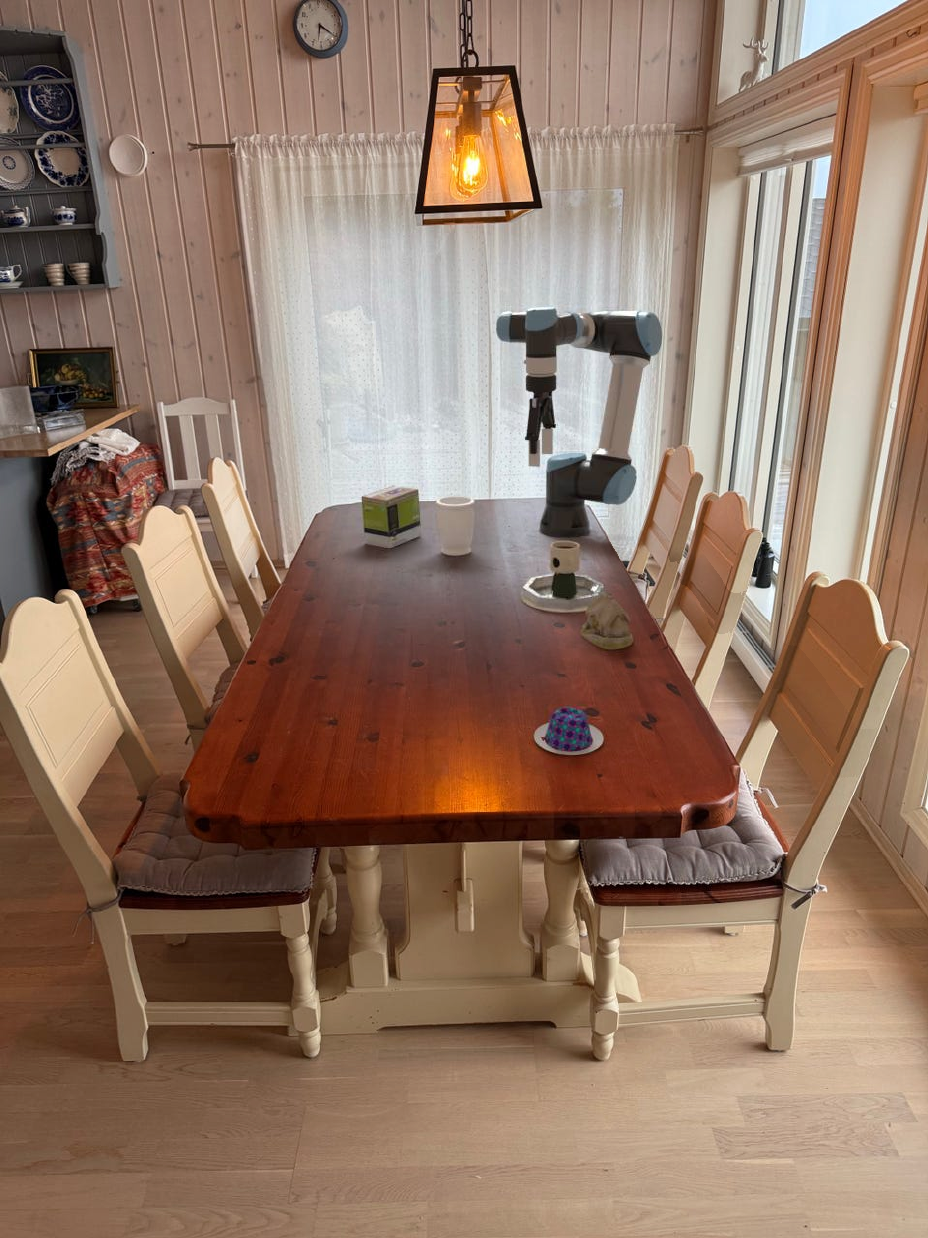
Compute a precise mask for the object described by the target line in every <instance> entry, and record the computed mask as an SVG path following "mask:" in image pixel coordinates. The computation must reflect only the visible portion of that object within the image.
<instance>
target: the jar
mask: <svg viewBox="0 0 928 1238" xmlns="http://www.w3.org/2000/svg"><path fill="white" fill-rule="evenodd" d="M474 505H475V500H474V499H473V498H471V497H465V496H446V497H441V498H438V499H437V500H436V506H437V507H438V508H437V513H436V529H437V531H438V539H439V541H440V544H441V546H442V548H441V553H442V554H443V555H446V556H451V557H453V556H454V557H455V556H456V557H457V556H458V557H459V556H466V555H468V554H470V553H472V549H471V546H470V545H471V544H472V542H473V536H474V530H475V512H474V508H473V506H474Z"/></svg>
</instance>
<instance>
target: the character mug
mask: <svg viewBox="0 0 928 1238" xmlns="http://www.w3.org/2000/svg"><path fill="white" fill-rule="evenodd" d="M549 547H550V551H549V555H550V556H549V557H550V558H549V559H550V563H549V570H550V571H552V572H554V573H553V574H554V577H553V582H552V588H551V593H552V591H553V596H556V597H561V598H563V597H565V598H566V597H569V596H573V595H576V593H577V589H576V579H575V575H576V574H575V573H577V572H578V571H579V570H580V560H581V559H580V558H581V557H580V555H581V552H580V551H581V545H580V543H578V542H575V541H571V540H557V541H554V542H551V544H550V546H549Z"/></svg>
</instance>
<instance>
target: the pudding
mask: <svg viewBox="0 0 928 1238" xmlns="http://www.w3.org/2000/svg"><path fill="white" fill-rule="evenodd" d="M541 737H545V739H546V740H544V741H543V740H542V738H541ZM533 738H534V741H535V743H536V744H537V745H538V746H539V747H541V748H542V749H544V750H546V751H548V752H552V753H554V754H558V755H567V756H577V755H584V754H589V753H592V752H594V751H595V750H597V749H599V748H600V747H601V746H602V744H603V743H604V735H603V733H602V732H601V730H600V729H598V728H597V727H595V726H594V725H591V724H589V721H588V716H587V714H586V713H585V712H584V711H583V710H581V709H580V708H577V707H570V706H566V707H563V708H562V707H561V708H558V709H556V710H555V711H554V712H553V713H552V715H551V717H550V720H549V722H547V723H544V724H542V725H540V726H539V727H537V729H536V730H535V732H534V734H533ZM547 740H548V741H547ZM546 741H547V742H546Z"/></svg>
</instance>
